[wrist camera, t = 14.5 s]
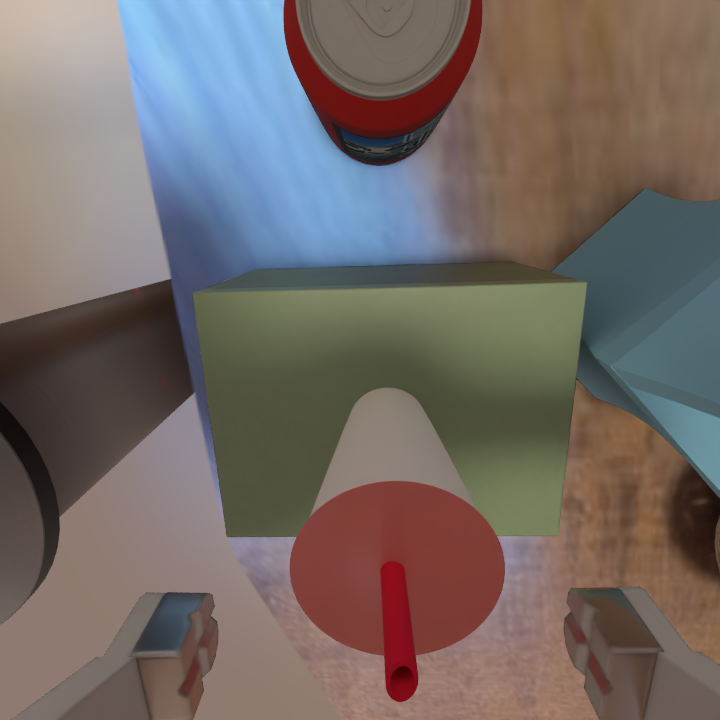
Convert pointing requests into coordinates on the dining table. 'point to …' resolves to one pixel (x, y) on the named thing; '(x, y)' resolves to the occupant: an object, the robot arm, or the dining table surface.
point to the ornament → (717, 543)
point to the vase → (656, 320)
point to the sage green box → (391, 380)
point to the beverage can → (381, 67)
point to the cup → (395, 543)
